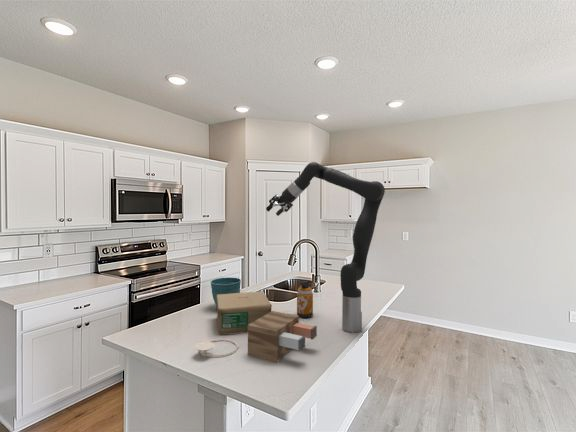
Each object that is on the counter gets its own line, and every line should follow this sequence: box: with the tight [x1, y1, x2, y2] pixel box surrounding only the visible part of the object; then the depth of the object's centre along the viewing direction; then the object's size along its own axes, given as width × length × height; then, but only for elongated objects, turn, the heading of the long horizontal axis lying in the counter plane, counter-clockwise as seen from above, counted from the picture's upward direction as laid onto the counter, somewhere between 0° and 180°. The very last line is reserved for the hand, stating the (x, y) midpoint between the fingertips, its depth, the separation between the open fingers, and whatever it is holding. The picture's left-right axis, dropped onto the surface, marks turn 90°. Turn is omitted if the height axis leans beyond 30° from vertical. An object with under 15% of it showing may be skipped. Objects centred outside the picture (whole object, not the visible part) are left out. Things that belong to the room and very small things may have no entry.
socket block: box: [247, 310, 300, 363], centre depth 138 cm, size 20×14×12 cm
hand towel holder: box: [194, 338, 239, 358], centre depth 137 cm, size 17×4×20 cm
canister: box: [296, 279, 314, 319], centre depth 179 cm, size 9×11×20 cm
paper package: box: [216, 290, 273, 336], centre depth 167 cm, size 27×26×14 cm
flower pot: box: [210, 276, 242, 310], centre depth 191 cm, size 18×18×17 cm
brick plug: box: [292, 322, 318, 340], centre depth 139 cm, size 4×16×4 cm, turn 62°
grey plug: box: [279, 332, 306, 352], centre depth 128 cm, size 4×16×4 cm, turn 62°
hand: (272, 212), depth 171 cm, fingers open, 8 cm apart
